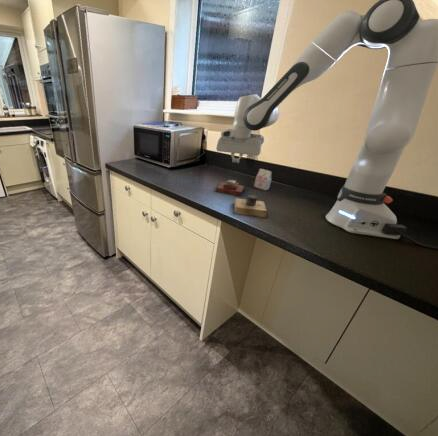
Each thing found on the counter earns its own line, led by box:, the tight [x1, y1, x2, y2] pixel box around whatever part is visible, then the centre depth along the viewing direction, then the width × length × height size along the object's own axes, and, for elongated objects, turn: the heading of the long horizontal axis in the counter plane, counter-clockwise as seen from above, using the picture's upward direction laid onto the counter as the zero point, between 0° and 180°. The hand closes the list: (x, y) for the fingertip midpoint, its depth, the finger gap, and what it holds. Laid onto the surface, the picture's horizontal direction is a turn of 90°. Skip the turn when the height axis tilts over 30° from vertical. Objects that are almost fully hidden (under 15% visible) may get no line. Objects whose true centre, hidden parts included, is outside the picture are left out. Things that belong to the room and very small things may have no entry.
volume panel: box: [233, 197, 268, 218], centre depth 101 cm, size 12×10×3 cm
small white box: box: [253, 168, 273, 191], centre depth 124 cm, size 4×7×10 cm, turn 33°
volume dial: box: [246, 194, 258, 206], centre depth 100 cm, size 4×4×4 cm
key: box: [227, 179, 237, 185], centre depth 120 cm, size 4×4×2 cm
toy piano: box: [215, 180, 245, 197], centre depth 122 cm, size 12×10×4 cm
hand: (235, 162), depth 115 cm, fingers closed
